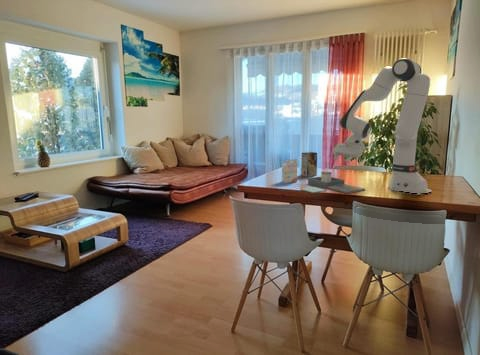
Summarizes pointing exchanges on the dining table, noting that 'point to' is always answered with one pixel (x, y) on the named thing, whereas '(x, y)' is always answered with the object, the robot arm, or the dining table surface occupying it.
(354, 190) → the equipment case
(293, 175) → the ink cartridge box
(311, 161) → the coffee box
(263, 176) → the dining table surface
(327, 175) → the block
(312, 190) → the pad
